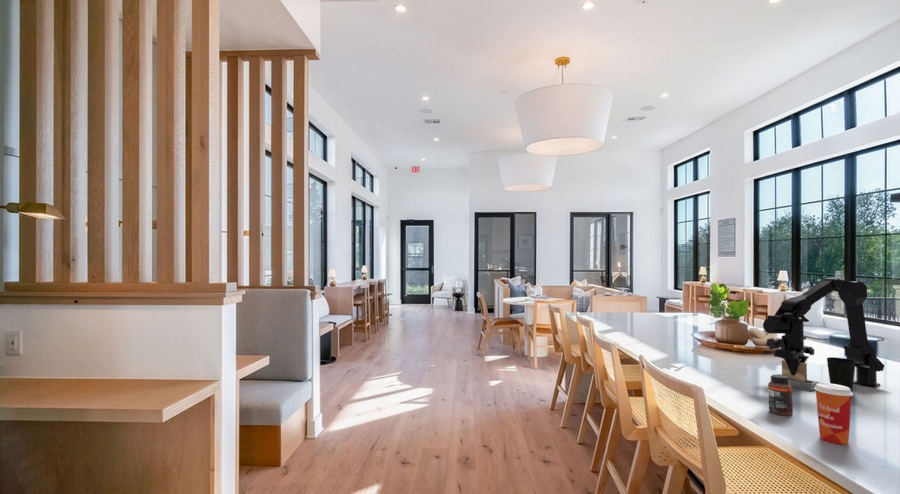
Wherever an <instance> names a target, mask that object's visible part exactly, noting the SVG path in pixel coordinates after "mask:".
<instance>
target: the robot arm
mask: <svg viewBox="0 0 900 494" xmlns="http://www.w3.org/2000/svg"><path fill="white" fill-rule="evenodd" d="M833 291H834V292H837V295H838V298H839V299H840V300H841V301H842V302H843V304H844V305H845V313H846V320H847V326H848V333H849V342H848V343H847V344H846V345H844V346H843V349H844V356H845V357H846V359H850V360H854V361H855V373H856V374H855V375H856V376H855V377H856V379H855V380H854V381H853V384H855V385H860V386H866V387H872V388H876V387H879V386H881V385H882V384H881V383H878V381H877V377H878V376H877V372H884V369H885V364H884V363H883V362H882V361H881V360H880V359H879V358H878V356H877V354H876V351H875V348H874V347H873V346H872V345H871V343H870V342H869V340H868V333H867V327H866V326H867V325H866V318H865V312H864V311H865V310H864V302H865V301H866V300H867V298H868V286H867V285H866V284H865V283H864V282H862V281H854V280H853V281H850V280H844V279H841V278H838V277H837V278H836V277H826V278H825V277H824V278H823V279H822V280H821V281H820V282H819V283H817V284H816V285H814V286H812V287H811V288H809V289H807V290H806V291H804V292H802V293H801V294H800V295H796V296H793V297H790V298H786V299H785V300H783V301H782V302H781V303H780V307H779V308H778V309H777V310H776V312H775V313H774V315H772V314H771V315H767V318H765V320H764V321H763V322H762V327H763V329H764V332H766V333H767V334H772V335H773V334H775V335H777V334H781V335H782V334H783V335H782V336H781V338H780V339H775V338H773V337H772V338H766V339H767V340H766V343H765V346H766V347H768V348H769V349H768V350H773V357H775V358H781V359H782V360H785V361H786V363H787V365H788V368H789V371H790V373H791V375H795V374H796V372H797V369H798V366H799V364H800V362H801V363H806V362H807V360H808V359H809V358H810V356H814V355H815V349H814V348H813V347H812V346H808V345H805V342H804V341H805V340H807V337H806V336H805V335H804V323H809V322H810V320H809V319H808V318H806V317H805V315H806V314H807V313H808V312H809V311H811V309H812V306H813V305H814V304H816V302H819V300H821V299H822V298H824V297H826V296H827V295H829V294H830V293H832V292H833ZM805 354H808V355H809V356H807V355H805Z"/></svg>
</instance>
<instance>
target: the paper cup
mask: <svg viewBox="0 0 900 494" xmlns="http://www.w3.org/2000/svg"><path fill="white" fill-rule="evenodd" d="M814 389H815V390H814V391H815V397H816V408H817V409H816V410H817V422H818V431H819V438H820V439H821V440H822V441H824V442H826V443H830V444H834V445H839V446H840V445H841V446H846V445H848V444H849V440H850V439H849V438H850V426H851V409H852V407H851V406H852V396H854V393H853V391H852V392H851V389H850V388H848V387H846V386H842V385H837V384H831V383H830V382H828V383H827V382H826V383H825V382H820V384H819V383H817V384H816V387H815V388H814Z"/></svg>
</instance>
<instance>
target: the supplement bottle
mask: <svg viewBox="0 0 900 494" xmlns="http://www.w3.org/2000/svg"><path fill="white" fill-rule="evenodd" d="M771 376H772V381H771V380H770V381H769V382H768V383H767V384H768V385H767V386H768V387H767V388H768V389H767V390H768V392H767V394H768V411H769V412H771V414H775V415H779V416H789V417H790V416H792V415H793V413H794V408H793V407H794V406H793V387H792V386H791V385H790V384H789V383H788V377H787V376H783V375H777V374H772V375H771Z"/></svg>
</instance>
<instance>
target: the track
mask: <svg viewBox="0 0 900 494" xmlns="http://www.w3.org/2000/svg"><path fill="white" fill-rule="evenodd" d="M776 375H782V373H778V374H777V373H776ZM771 381H772V375H771V376H770V382H771ZM788 383H789V384H790V385H791V386H792V388H794V389H795V388H796V389H800V390H804V391H809V392H814V391H816V390H815V389H814V388H815V387H816V384H817V383H819V384H820V383H821V382H820V381H815V380H810V379H807V382H802V381H797V380H792V379H788Z"/></svg>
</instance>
